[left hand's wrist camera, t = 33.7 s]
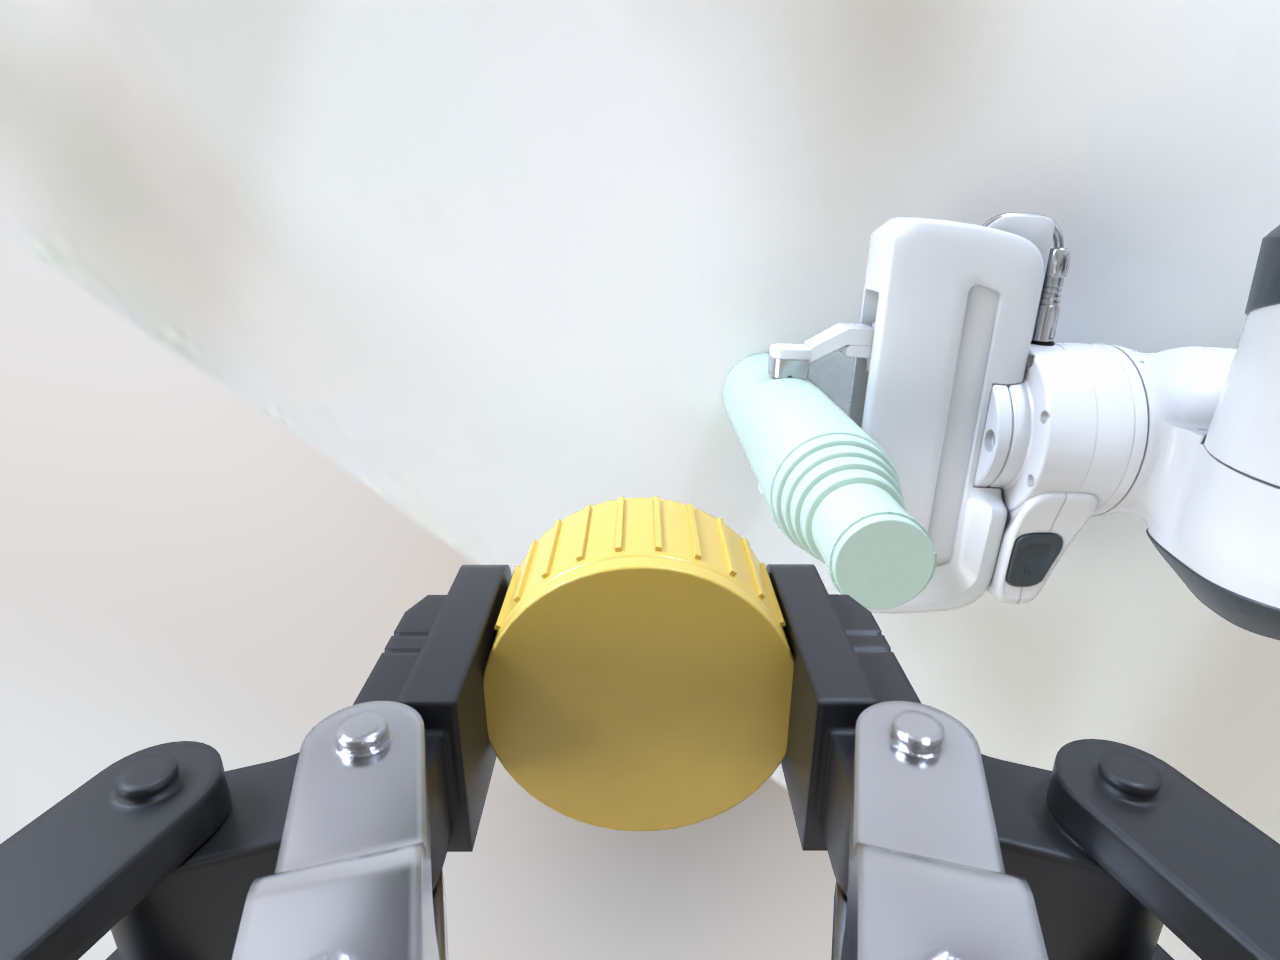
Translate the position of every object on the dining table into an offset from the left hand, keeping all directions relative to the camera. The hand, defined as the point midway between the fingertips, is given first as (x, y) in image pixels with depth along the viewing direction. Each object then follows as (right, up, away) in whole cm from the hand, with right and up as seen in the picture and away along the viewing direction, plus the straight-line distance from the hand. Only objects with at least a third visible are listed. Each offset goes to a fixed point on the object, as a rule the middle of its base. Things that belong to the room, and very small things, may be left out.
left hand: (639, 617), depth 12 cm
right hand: (+6, +5, +26) cm, 27 cm away
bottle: (+7, +7, +32) cm, 34 cm away
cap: (0, -1, -2) cm, 2 cm away
